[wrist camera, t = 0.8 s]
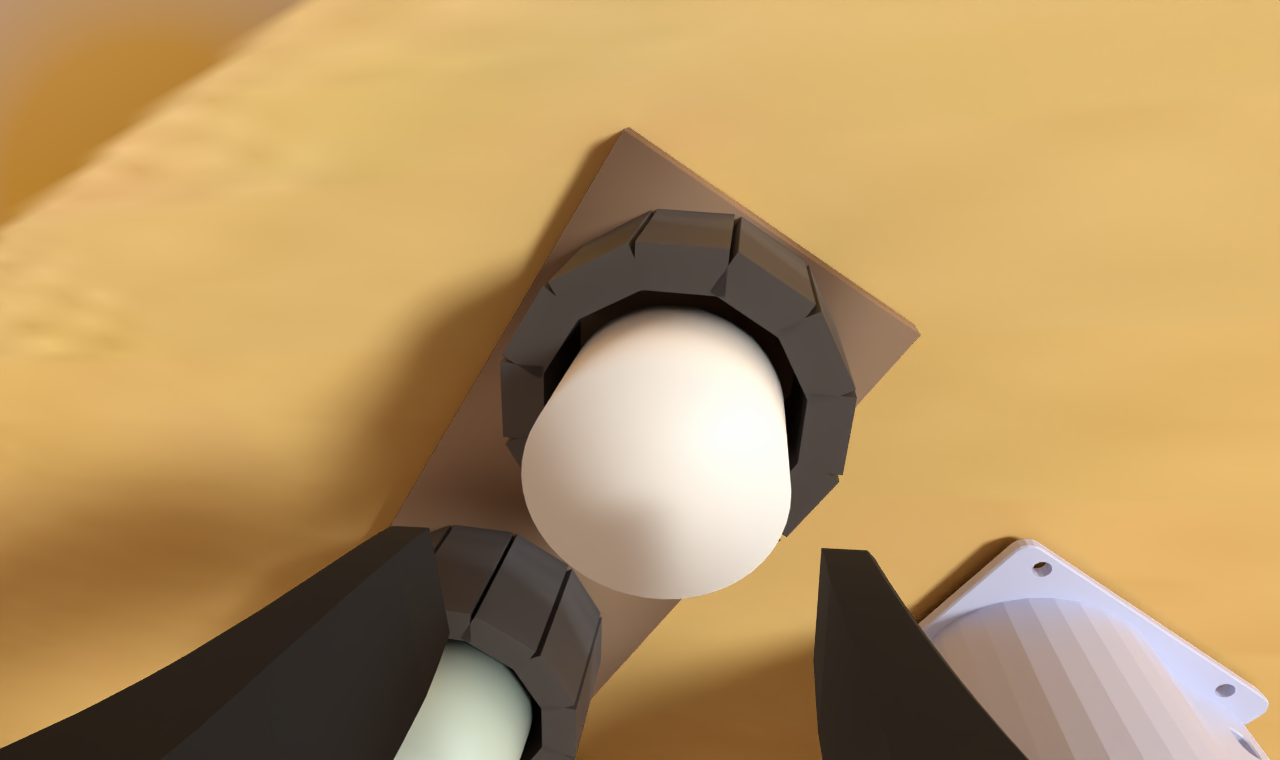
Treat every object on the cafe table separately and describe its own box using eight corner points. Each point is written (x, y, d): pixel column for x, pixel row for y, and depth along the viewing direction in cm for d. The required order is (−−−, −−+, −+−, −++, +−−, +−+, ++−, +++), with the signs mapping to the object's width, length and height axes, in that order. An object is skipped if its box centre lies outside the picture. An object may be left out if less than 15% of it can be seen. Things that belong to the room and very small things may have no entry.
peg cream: (831, 386, 15) (850, 469, 12) (701, 536, 17) (688, 639, 14) (639, 259, 15) (608, 310, 12) (529, 428, 17) (477, 510, 14)
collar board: (914, 324, 19) (958, 396, 15) (550, 731, 27) (514, 849, 23) (628, 127, 18) (590, 144, 14) (343, 610, 26) (266, 711, 22)
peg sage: (563, 694, 20) (527, 809, 17) (486, 781, 22) (442, 898, 19) (413, 605, 20) (348, 707, 17) (348, 703, 22) (280, 810, 19)
